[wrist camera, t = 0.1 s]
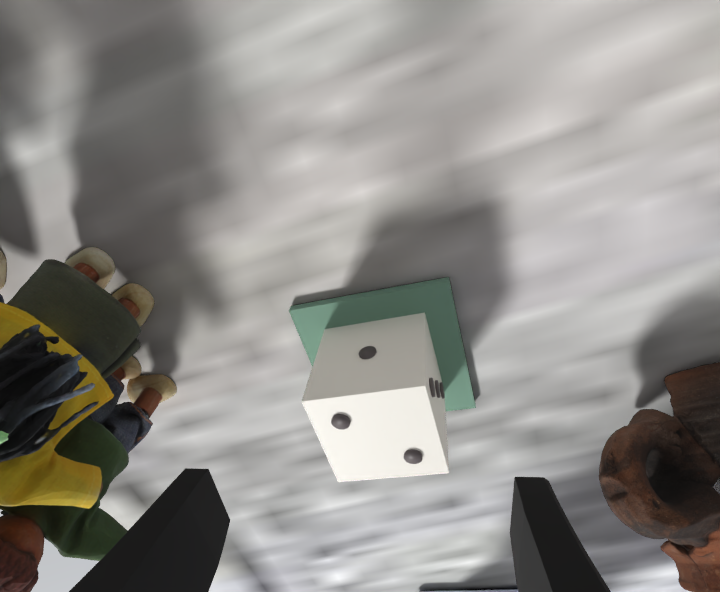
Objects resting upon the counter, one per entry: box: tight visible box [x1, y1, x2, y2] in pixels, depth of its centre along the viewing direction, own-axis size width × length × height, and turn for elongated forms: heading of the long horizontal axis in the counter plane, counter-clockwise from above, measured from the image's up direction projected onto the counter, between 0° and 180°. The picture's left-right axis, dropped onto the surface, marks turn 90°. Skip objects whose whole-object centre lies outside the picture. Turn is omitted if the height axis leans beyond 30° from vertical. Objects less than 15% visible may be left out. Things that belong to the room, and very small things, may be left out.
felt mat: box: [289, 277, 476, 411], centre depth 21 cm, size 7×7×1 cm
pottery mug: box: [599, 362, 720, 592], centre depth 19 cm, size 12×10×8 cm
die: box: [302, 313, 449, 482], centre depth 19 cm, size 5×5×5 cm
